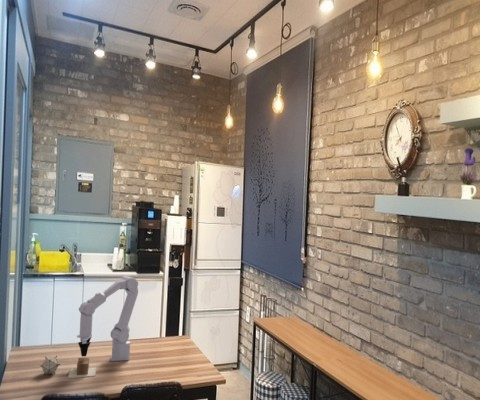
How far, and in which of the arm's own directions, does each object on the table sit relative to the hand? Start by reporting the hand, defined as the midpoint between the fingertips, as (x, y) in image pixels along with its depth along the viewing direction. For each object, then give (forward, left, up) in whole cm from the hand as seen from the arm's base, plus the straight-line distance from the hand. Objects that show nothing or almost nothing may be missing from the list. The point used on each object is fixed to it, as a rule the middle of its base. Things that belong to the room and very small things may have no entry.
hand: (84, 353), depth 200 cm
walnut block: (0, +1, -4) cm, 4 cm away
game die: (+15, +5, -7) cm, 17 cm away
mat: (0, +7, -7) cm, 10 cm away
